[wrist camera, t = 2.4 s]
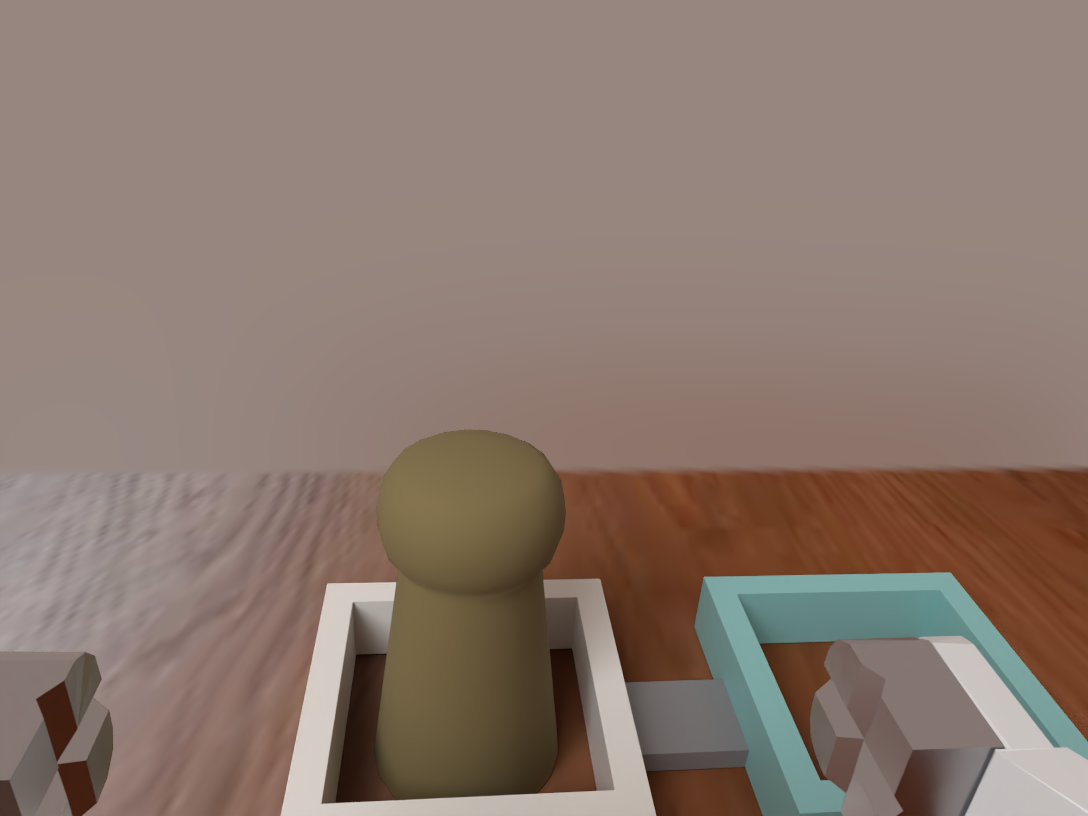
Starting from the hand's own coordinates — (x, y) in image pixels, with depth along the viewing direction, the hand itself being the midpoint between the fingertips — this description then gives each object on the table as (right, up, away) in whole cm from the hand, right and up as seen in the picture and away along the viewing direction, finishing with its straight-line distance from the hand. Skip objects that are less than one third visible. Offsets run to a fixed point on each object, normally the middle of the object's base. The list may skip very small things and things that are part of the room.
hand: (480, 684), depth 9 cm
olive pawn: (-2, -8, +18) cm, 20 cm away
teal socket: (+12, -8, +20) cm, 24 cm away
